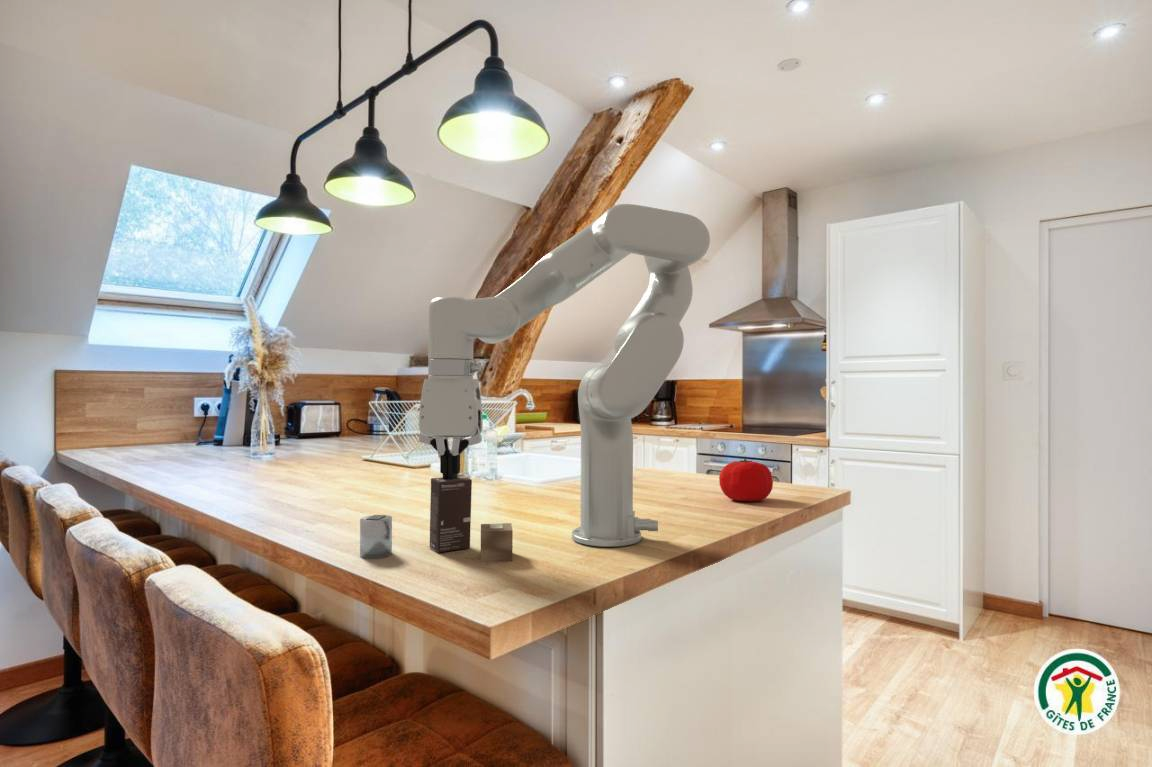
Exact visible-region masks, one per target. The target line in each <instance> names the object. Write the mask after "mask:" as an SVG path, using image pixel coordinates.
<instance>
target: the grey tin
mask: <svg viewBox="0 0 1152 767" xmlns="http://www.w3.org/2000/svg"><path fill="white" fill-rule="evenodd" d="M392 554H393V517H392V516H391V515H387V514H373V515H372V514H371V515H367V516H363V517H360V518H359V558H361V559H365V560H376V559H378V560H379V559H384V558H388V557H390V556H392Z"/></svg>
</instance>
